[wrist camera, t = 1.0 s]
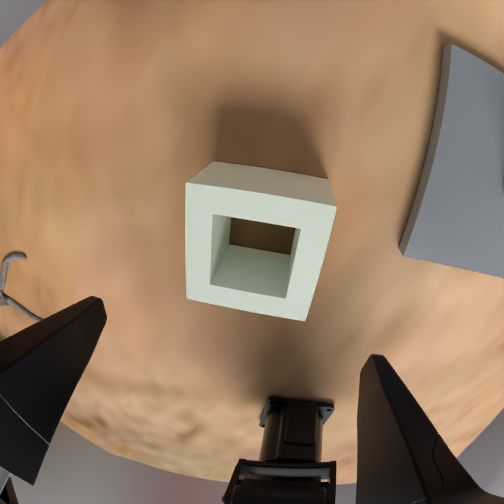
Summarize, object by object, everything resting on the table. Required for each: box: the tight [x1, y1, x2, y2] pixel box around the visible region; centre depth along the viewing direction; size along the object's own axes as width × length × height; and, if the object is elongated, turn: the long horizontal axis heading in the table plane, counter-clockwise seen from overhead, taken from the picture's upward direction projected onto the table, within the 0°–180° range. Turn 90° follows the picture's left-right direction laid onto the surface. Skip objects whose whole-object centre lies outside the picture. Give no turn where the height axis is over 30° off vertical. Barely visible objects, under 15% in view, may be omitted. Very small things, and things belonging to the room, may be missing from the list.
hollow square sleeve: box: [185, 161, 337, 321], centre depth 14 cm, size 6×6×4 cm
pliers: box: [0, 253, 43, 322], centre depth 26 cm, size 10×1×20 cm
